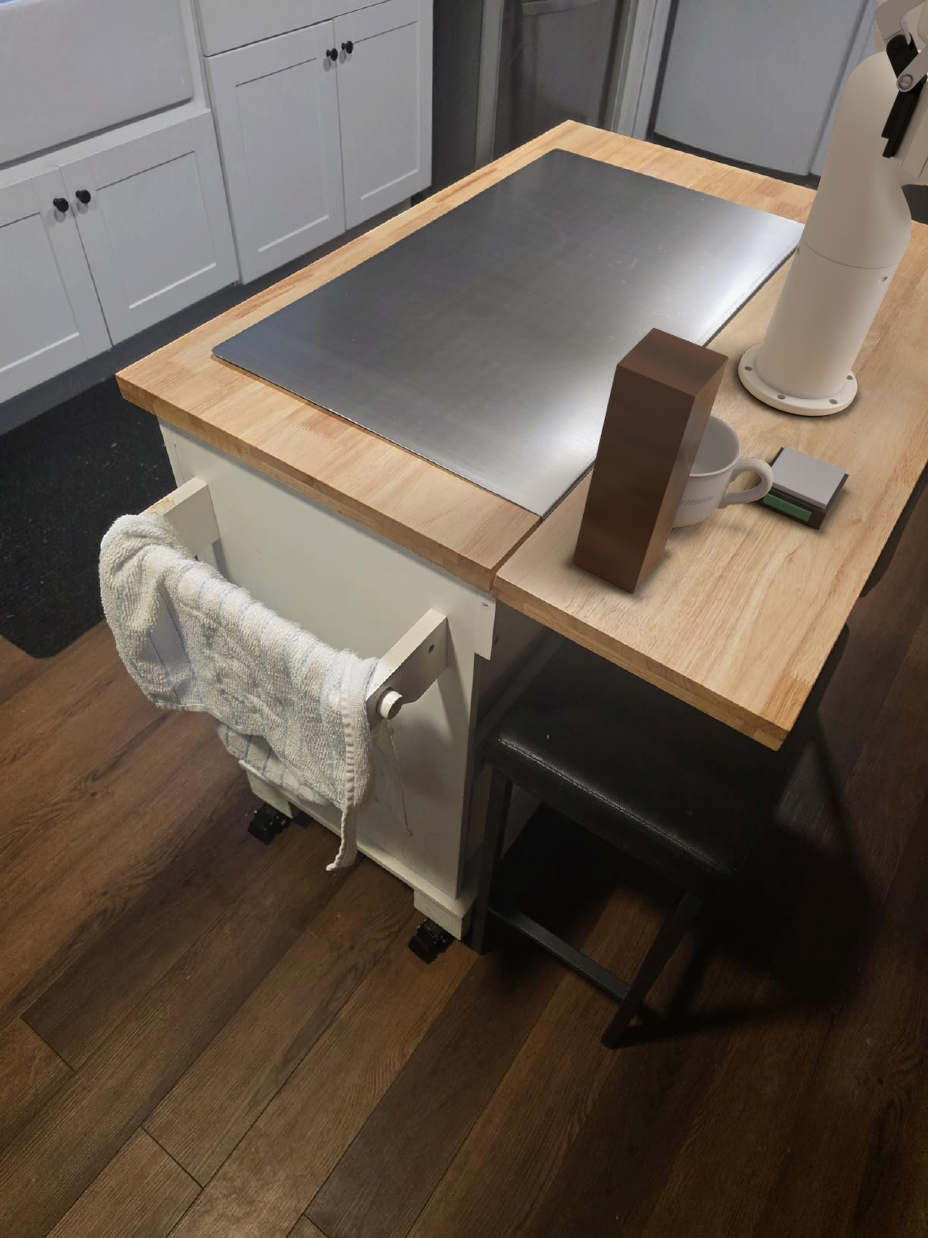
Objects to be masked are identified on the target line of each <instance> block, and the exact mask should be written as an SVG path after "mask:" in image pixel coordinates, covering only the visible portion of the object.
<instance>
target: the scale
mask: <svg viewBox="0 0 928 1238" xmlns="http://www.w3.org/2000/svg"><path fill="white" fill-rule="evenodd" d="M768 465H769V466H770V467H771V469H772V472H773V484H772V486H771V489H770V490H769V492H768V493H767V494H766V495H765V496H763V497H762V498H760V499H758V500H755V501H754V502H755V503H758V504H760V505H761V506H764V507H767V508H769V509H771V510H774V511H776V512H778V513H780V514H782V515H785V516H786V517H789V518H792V519H794V520H797V521H798V522H801V523H803V524H805V525H807V526H809V527H811V528H814V529H817V530H820V528H821V526H822V525H823V523H824V521H825V519H826V518H827V516H828V514H829V513H830V511H831V510H832V507H833V505H834V504H835V503H836V500H837V499H838V497H839V495H840V494H841V492H842V490H843V488H844V487H845V484H846V482H847V480H848V478H849V477H850V474H848V473H846V472H847V470H846V469H844V468H842V467H839V466H837V465H835V464H832V463H829V462H827V461H824V460H822V459H820V458H818V457H815V456H813V455H810V454H808V453H805V452H803V451H801V450H799V449H795V448H794V447H791V446H789V445H785V447H784V446H781V447H780V449H779V450H778V451H777V453H776V454H775V455H774V457H773V459H772V460H771V461H770V463H769V464H768ZM761 481H762V480H761V477H760V476H759V479H758V480H757V481H756V484H755V486H754V487H756V486H758V485H759V484H760V483H761Z"/></svg>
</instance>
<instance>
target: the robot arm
mask: <svg viewBox="0 0 928 1238" xmlns="http://www.w3.org/2000/svg"><path fill="white" fill-rule="evenodd" d="M872 34H873V45H874V49H875V51H876V53H874V54H872V55H870V56H868V57H867V58H864V60H862V61H861V62H860V63H859V64H858V65H857V66H856V67H855V68H854V69H853V70H852V72H851V73H850V75H849V77H848V78H847V80H846V81H845V83H844V86H843V89H842V92H841V93H840V94H841V95H840V97H839V100H838V103H837V107H836V111H835V116H834V120H833V125H832V130H831V135H830V140H829V144H828V148H827V152H826V158H825V160H824V165H823V168H822V174H821V176H820V180H819V183H818V187H817V189H816V193H815V195H814V198H813V201H812V205H811V207H810V210H809V213H808V216H807V218H806V221H805V224H804V227H803V230H802V233H801V235H800V238H799V241H798V242H797V243H798V244H797V246H796V249H795V252H794V254H793V258H792V259H791V263H790V265H789V268H788V271H787V274H786V276H785V279H784V282H783V285H782V287H781V290H780V293H779V295H778V296H779V297H778V298H777V301H776V304H775V306H774V310H773V311H772V314H771V317H770V320H769V323H768V326H767V328H766V332H765V333H764V334H765V335H764V337H763V339H762V342H761V343H758V344H755V345H753V346H751V347H749V348H748V349H747V350H746V351H744V353H743V355H742V356H741V358H740V360H739V364H738V367H737V370H738V371H737V374H738V377H739V380H740V381H741V383H742V385H743V386H744V388H745V389H746V390H747V391H748V392H749V393H750V394H751V395H753V396H754V397H755V398H756V399H758V400H759V401H761V402H763V403H764V404H766V405H768V406H770V407H772V408H775V409H777V410H780V411H783V412H786V413H790V414H794V415H800V416H811V417H816V416H817V417H818V416H819V417H820V416H827V415H833V414H836V413H839V412H842V411H843V410H845V409H846V408H848V407H849V406H850V405H851V403H852V402H853V400H854V398H855V396H856V394H857V392H858V380H857V378H856V376H855V374H854V372H853V371H852V370H851V369H852V367H853V365H854V363H855V361H856V358H857V357H858V354H859V352H860V350H861V348H862V345H863V344H864V341H865V339H866V337H867V335H868V332H869V331H870V329H871V326H872V324H873V322H874V320H875V318H876V316H877V313H878V311H879V309H880V307H881V305H882V302H883V301H884V298H885V296H886V293H887V291H888V289H889V287H890V285H891V283H892V281H893V279H894V277H895V274H896V272H897V270H898V268H899V266H900V264H901V261H902V259H903V257H904V255H905V253H906V251H907V249H908V246H909V243H910V241H911V236H912V233H913V232H912V231H913V222H912V214H911V209H910V207H909V204H908V201H907V199H906V195H905V193H904V191H903V189H902V187H903V186H906V185H916V186H928V181H926V180H922V179H920V177H919V178H917V177H915V176H914V175H912V174H910V173H909V172H907V171H905V170H903V169H902V168H901V167H899V165H898V163H897V161H896V160H895V158H894V156H895V154H896V152H897V149H898V147H899V144H900V142H901V140H902V137H903V135H904V132H905V130H906V128H907V125H908V123H909V121H910V118H911V116H912V113H913V111H914V109H915V106H916V104H917V101H918V99H919V97H920V96H919V95H920V93H921V91H922V88H923V86H924V84H925V83H926V82H927V81H928V0H877V3H876V9H875V13H874V21H873V31H872Z"/></svg>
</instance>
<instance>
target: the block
mask: <svg viewBox="0 0 928 1238" xmlns="http://www.w3.org/2000/svg"><path fill="white" fill-rule="evenodd" d="M729 360H730V356H728V355H726V354H723V353H721V352H718V351H716V350H713V349H710V348H708V347H705V346H703V345H700V344H697V343H695V342H692V341H690V340H687V339H684V338H682V337H679V336H677V335H674V334H672V333H669V332H666V331H664V330H661V329H659V328H656V327H653V328H652V329H650V330H649V331H648V333H646V335H645V336H643V338H642V339H641V340H640V341H638V342H637V344H636V345H634V346H633V347H632V348H631V349H630V350H629V352H627V353H626V354H625V355H624V356H623V357H622V358H621V359H620V360H619V362H617V364H616V366H615V370H614V374H613V379H612V384H611V388H610V393H609V397H608V400H607V401H608V402H607V406H606V411H605V414H604V418H603V419H604V420H603V424H602V429H601V432H600V437H599V441H598V446H597V451H596V454H595V458H594V459H595V460H594V464H593V468H592V473H591V476H590V481H589V485H588V491H587V494H586V500H585V504H584V508H583V511H582V512H583V513H582V517H581V521H580V526H579V531H578V536H577V539H576V544H575V548H574V553H573V557H572V562H571V563H572V564H573V565H575V566H577V567H579V568H581V569H583V570H585V571H587V572H589V573H590V574H593V575H595V576H597V577H599V578H601V579H603V580H606V581H607V582H609V583H611V584H613V585H615V586H617V587H619V588H621V589H623V590H625V591H627V592H629V593H631V594H635V592H636V591H637V590H638V588H639V587H640V586H641V584H642V583H643V582H644V580H645V579H646V577H648V575H649V573H650V572H651V571H652V569H653V568H654V567H655V565H656V564H657V562H658V561H659V560H660V558H661V557H662V556H663V554H664V553H665V549H666V546H667V544H668V541H669V538H670V534H671V532H672V529H673V528H672V526H673V523H674V520H675V517H676V514H677V511H678V508H679V505H680V502H681V499H682V496H683V493H684V490H685V487H686V484H687V481H688V478H689V475H690V472H691V469H692V466H693V463H694V460H695V457H696V454H697V452H698V449H699V446H700V443H701V440H702V437H703V434H704V431H705V428H706V425H707V422H708V419H709V416H710V413H711V412H712V409H713V407H714V403H715V401H716V398H717V395H718V392H719V389H720V386H721V383H722V379H723V378H724V374H725V371H726V368H727V365H728V362H729ZM711 414H712V413H711Z"/></svg>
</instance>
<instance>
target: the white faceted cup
mask: <svg viewBox="0 0 928 1238" xmlns="http://www.w3.org/2000/svg"><path fill="white" fill-rule="evenodd" d="M919 96H920V97H919V99H918V101H917V104H916V106H915V109H914V111H913V113H912V116H911V118H910V121H909V123H908V125H907V128H906V130H905V132H904V135H903V137H902V140H901V142H900V144H899V147H898V149H897V152H896V154H895V156H894V158H895V160H896V161H897V163H898V165H899V167H901V168H902V169H903V170H905V171H907V172H909V173H910V174H912V175H914V176H915V177H917V178H919V177H920V179H922V180H926V181H928V81H927V82H926V83H925V84H924V86H923V88H922V91H921V93H920V95H919Z"/></svg>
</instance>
